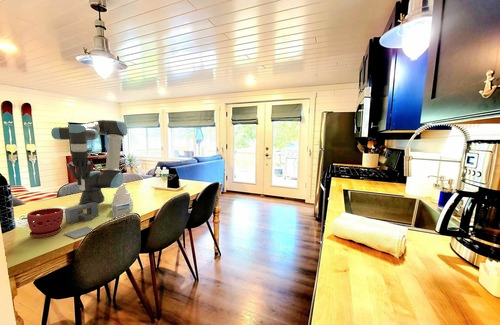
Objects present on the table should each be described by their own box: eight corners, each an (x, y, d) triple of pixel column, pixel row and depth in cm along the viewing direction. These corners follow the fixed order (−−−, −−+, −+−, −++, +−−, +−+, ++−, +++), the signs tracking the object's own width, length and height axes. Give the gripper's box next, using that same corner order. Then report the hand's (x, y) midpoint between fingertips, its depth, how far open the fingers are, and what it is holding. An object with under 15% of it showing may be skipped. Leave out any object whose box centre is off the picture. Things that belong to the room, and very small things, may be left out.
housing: (94, 214, 135) (93, 202, 134) (98, 215, 133) (98, 203, 132) (65, 222, 122) (64, 208, 121) (70, 223, 120) (69, 210, 119)
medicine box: (116, 220, 126) (116, 206, 125) (113, 219, 128) (112, 205, 127) (130, 216, 133) (129, 203, 132) (126, 215, 135) (125, 202, 134)
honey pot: (127, 205, 154) (126, 181, 152) (137, 208, 148) (136, 183, 146) (108, 210, 143) (106, 184, 141) (118, 214, 137) (116, 187, 135)
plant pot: (50, 239, 101) (48, 215, 100) (20, 239, 100) (18, 215, 99) (70, 228, 114) (69, 206, 113) (45, 228, 113) (43, 206, 112)
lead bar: (83, 216, 131) (82, 212, 131) (92, 219, 127) (92, 215, 127) (75, 218, 128) (75, 214, 127) (85, 222, 123) (84, 217, 123)
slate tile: (86, 227, 116) (86, 226, 116) (97, 231, 111) (97, 230, 111) (64, 234, 107) (64, 233, 107) (75, 239, 102) (75, 237, 102)
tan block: (79, 215, 133) (78, 207, 133) (83, 216, 131) (82, 208, 131) (71, 217, 129) (70, 209, 129) (75, 218, 127) (74, 210, 127)
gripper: (87, 150, 130) (90, 186, 134) (62, 151, 118) (65, 191, 122) (95, 150, 127) (97, 188, 131) (69, 152, 116) (73, 193, 119)
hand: (82, 190), depth 126 cm, fingers closed
